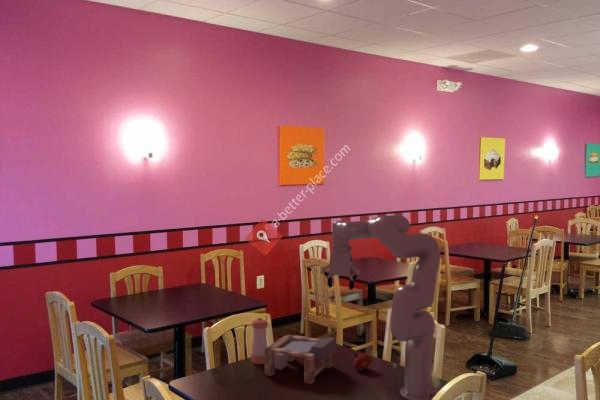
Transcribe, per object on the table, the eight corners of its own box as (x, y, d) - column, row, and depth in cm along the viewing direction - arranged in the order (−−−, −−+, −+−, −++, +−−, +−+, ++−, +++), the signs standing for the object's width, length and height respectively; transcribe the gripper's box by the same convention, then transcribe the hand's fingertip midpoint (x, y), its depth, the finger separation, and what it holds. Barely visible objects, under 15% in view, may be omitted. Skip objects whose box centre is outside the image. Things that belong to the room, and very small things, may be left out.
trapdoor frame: (331, 366, 226) (331, 340, 226) (311, 384, 208) (311, 356, 207) (288, 358, 235) (288, 334, 235) (264, 374, 217) (264, 348, 216)
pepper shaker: (270, 363, 230) (270, 319, 229) (254, 365, 227) (254, 321, 226) (265, 357, 237) (265, 314, 236) (249, 359, 234) (249, 316, 233)
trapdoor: (336, 349, 221) (335, 337, 221) (323, 360, 209) (321, 347, 209) (292, 347, 230) (291, 336, 230) (276, 358, 218) (275, 346, 218)
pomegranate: (372, 373, 224) (356, 355, 228) (381, 363, 220) (364, 345, 225) (362, 380, 219) (346, 362, 223) (370, 370, 215) (354, 351, 219)
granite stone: (276, 350, 229) (276, 364, 229) (270, 353, 224) (270, 367, 225) (286, 352, 226) (286, 365, 227) (281, 355, 222) (281, 369, 222)
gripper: (362, 249, 230) (362, 288, 231) (325, 246, 238) (325, 284, 238) (357, 251, 223) (357, 292, 224) (319, 249, 231) (319, 288, 232)
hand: (340, 288), depth 231 cm, fingers open, 9 cm apart
